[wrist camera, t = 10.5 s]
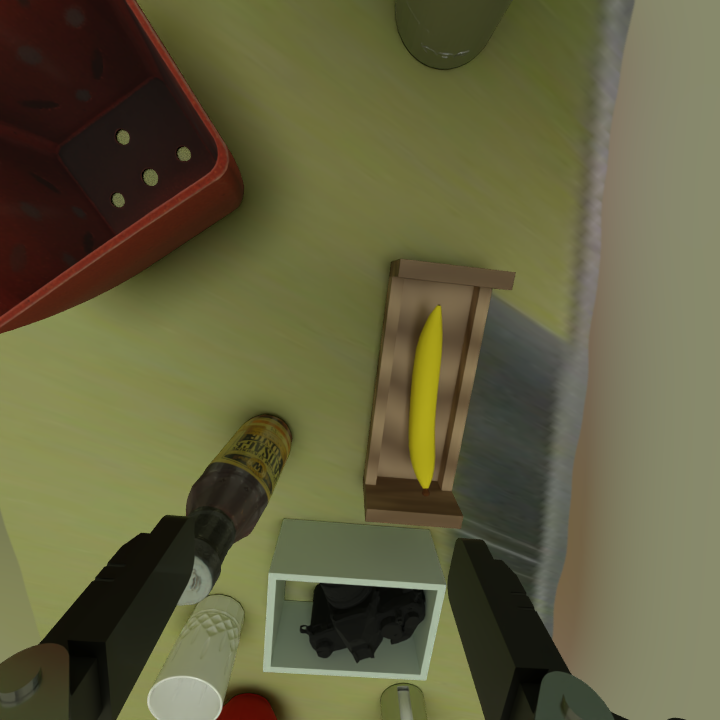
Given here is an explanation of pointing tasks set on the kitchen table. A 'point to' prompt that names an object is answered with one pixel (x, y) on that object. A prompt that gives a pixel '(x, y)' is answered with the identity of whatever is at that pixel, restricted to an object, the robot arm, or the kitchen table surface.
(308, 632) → the film camera
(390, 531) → the camera caddy
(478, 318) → the cradle
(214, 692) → the white cup
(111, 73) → the plant pot
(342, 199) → the kitchen table surface
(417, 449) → the banana
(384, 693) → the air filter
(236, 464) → the sauce bottle
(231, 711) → the ceramic cup
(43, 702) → the robot arm
